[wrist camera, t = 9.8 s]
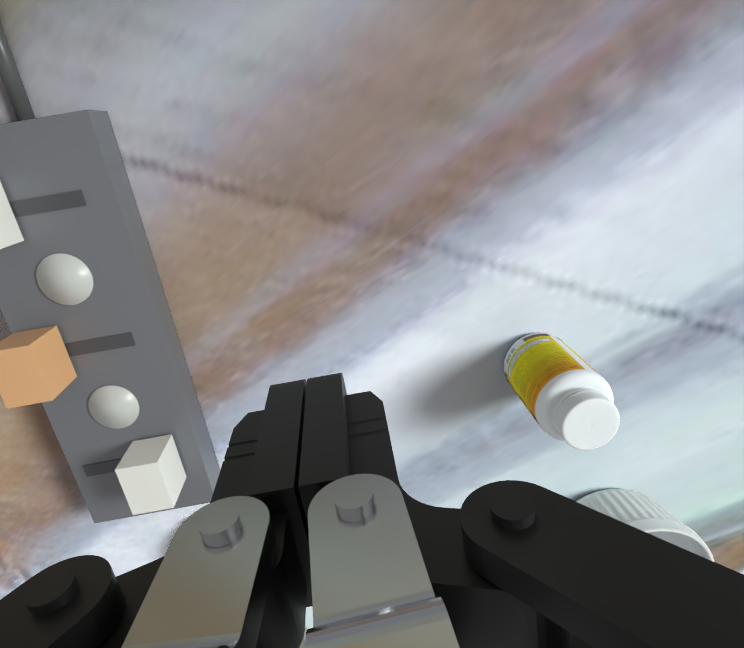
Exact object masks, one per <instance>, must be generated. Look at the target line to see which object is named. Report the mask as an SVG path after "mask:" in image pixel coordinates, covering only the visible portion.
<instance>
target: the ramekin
mask: <svg viewBox="0 0 744 648" xmlns="http://www.w3.org/2000/svg"><path fill="white" fill-rule="evenodd" d="M576 502H578V503H580V504H582V505H585V506H587V507H589V508H592V509H594V510H596V511H598V512H601V513H603V514H605V515H608V516H610V517H612V518H614V519H617V520H619V521H621V522H624V523H626V524H628V525H630V526H633V527H635V528H637V529H640V530H642V531H644V532H647V533H649V534H651V535H653V536H656V537H658V538H660V539H663V540H665V541H667V542H669V543H672V544H674V545H676V546H679V547H681V548H683V549H685V550H688V551H690V552H692V553H695V554H697V555H699V556H702V557H704V558H706V559H708V560H711V561H713V562H714V559H713V556H712V553H711V551H710V550H709V548H708V547H707V545H706V544H705V543H704V542H703V540H702V539H701V538H700V537H699V536H698V535H697V534H696V533H695V532H694V531H693V530H692V529H690V528H689V527H687V526H685V525H684V524H682V523H681V522H680V521H679V520H678V519H676V518H675V517H674V516H673V515H672V514H671V513H669V512H668V511H667V510H666V509H665V508H664V507H662V506H661V505H660V504H659V503H657V502H656V501H655V500H653V499H652V498H650V497H648V496H647V495H645V494H642V493H640V492H636V491H633V490H626V489H607V490H601V491H597V492H594V493H591V494H589V495H586V496H584V497H582V498H580V499H579V500H577V501H576Z"/></svg>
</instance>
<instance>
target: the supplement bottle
mask: <svg viewBox="0 0 744 648" xmlns="http://www.w3.org/2000/svg"><path fill="white" fill-rule="evenodd" d="M504 373H505V376H506V379H507V380H508V382H509V384H510V385H511V387H512V388H513V389H514V391H515V392H516V394H517V395H518V396H519V398H520V399H521V401H522V402H523V403H524V405H525V406H526V407H527V409H528V410H529V412H530V413H531V414H532V416H533V417H534V419H535V420H536V421H537V423H538V424H539V426H540V427H541V428H542V429H543V430H544V431H545V432H546V433H547V434H548V435H550V436H551V437H553V438H555V439H558V440H563V441H566V442H567V443H568V444H569V445H570V446H572V447H573V448H576V449H579V450H591V449H596V448H598V447H601V446H603V445H604V444H606V443H607V442H608V441H610V440H611V439H612V437H613V436H614V435H615V433H616V432H617V430H618V427H619V423H620V416H619V412H618V410H617V408H616V407H615V405H614V397H613V392H612V389H611V387H610V386H609V384H608V383H607V381H606V380H605V379H604V378H603V377H602V376H601V375H600V374H599V373H597V372H596V371H595V370H594V369H593V368H592V367H591V366H590V365H589V364H588V363H586V362H585V361H584V360H583V359H582V358H581V357H580V356H579V355H578V354H576V353H575V352H574V351H573V350H572V349H571V348H570V347H569V346H567V345H566V344H565V343H564V342H563V341H562V340H560V339H559V338H558V337H556V336H554V335H552V334H548V333H532V334H529V335H526V336H524V337H522V338H520V339H519V340H517V341H516V342H515V343H514V344H513V345H512V346H511V348H510V349H509V351H508V352H507V354H506V357H505V360H504Z"/></svg>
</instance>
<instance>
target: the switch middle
mask: <svg viewBox="0 0 744 648" xmlns="http://www.w3.org/2000/svg"><path fill="white" fill-rule="evenodd" d="M76 377H77V375H76V372H75V370H74V367H73V365H72V362H71V360H70V357H69V355H68V352H67V350H66V347H65V345H64V342H63V340H62V338H61V335H60V333H59V330H58V328H57V325H56V326H50V327H45V328H39V329H33V330H27V331H22V332H16V333H13V334H11V335H9V336H8V337H6V338H5V339H3V340H2V341H0V395H1V397H2V399H3V401H4V404H5V406H6V408H7V409H8V408H14V407H19V406H25V405H31V404H36V403H42V402H48V401H53V400H54V399H55V398H56V397H57V396H58V395H59V394H60V393H61V392H62V391H63V390H64V389H65V388H66V387H67V386H68V385H69V384H70V383H71V382H72V381H73V380H74V379H75V378H76Z"/></svg>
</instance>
